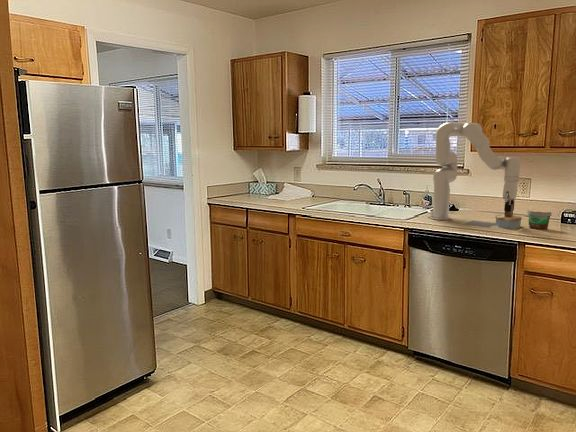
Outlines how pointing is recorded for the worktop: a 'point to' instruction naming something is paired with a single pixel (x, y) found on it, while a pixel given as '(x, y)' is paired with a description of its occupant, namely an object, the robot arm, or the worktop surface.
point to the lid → (509, 216)
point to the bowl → (508, 223)
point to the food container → (539, 220)
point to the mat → (480, 223)
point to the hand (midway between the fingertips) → (509, 210)
